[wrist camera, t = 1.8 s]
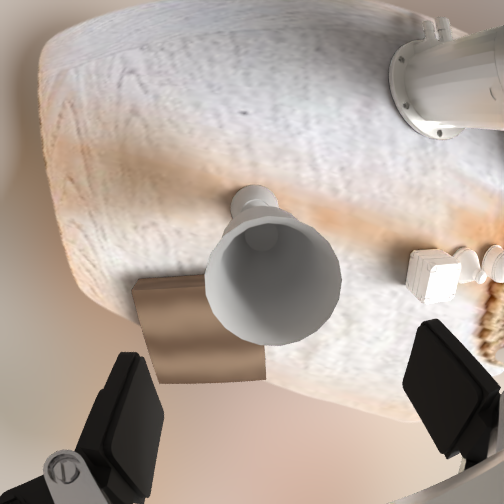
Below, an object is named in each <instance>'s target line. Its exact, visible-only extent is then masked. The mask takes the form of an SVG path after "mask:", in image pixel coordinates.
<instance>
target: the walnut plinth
mask: <svg viewBox="0 0 504 504" xmlns="http://www.w3.org/2000/svg"><path fill="white" fill-rule="evenodd" d="M131 291H132V295H133V299H134V303H135V307H136V310H137V314H138V318H139V321H140V325H141V328H142V332H143V335H144V338H145V342H146V345H147V348H148V351H149V354H150V357H151V360H152V364H153V367H154V369H155V372H156V375H157V378H158V381H159V383H160V384H196V383H224V382H240V381H241V382H242V381H255V380H266V367H265V349H264V345H258V344H255V343H252V342H249V341H246V340H243V339H241V338H239V337H238V336H236V335H235V334H233V333H232V332H230V331H229V330H227V329H226V328H225V327H224V326H223V325H222V323H221V322H220V321H219V320H218V319H217V317H216V316H215V315H214V314H213V312H212V309H211V307H210V304H209V302H208V299H207V297H206V290H205V274H204V275H190V276H175V277H160V278H144V279H138V281H137V282H136V284H135V286H134V287H133V289H132V290H131Z"/></svg>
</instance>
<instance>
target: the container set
mask: <svg viewBox="0 0 504 504" xmlns="http://www.w3.org/2000/svg"><path fill="white" fill-rule="evenodd" d="M410 256H411V257H410V260H409V266H408V272H407V278H406V288H407V289H408V290H409V291H410V292H411V293H412V294H413V295H414V296H415V297H416V298H417V299H418V300H419V301H421V303H424V304H428V303H429V304H431V303H437V302H443V301H448V300H449V301H450V300H451V299H452V298H453V297H454V294H455V291H456V287H457V283H466V282H470V281H476V282H477V283H478V284H481V283H483V282H484V281H485V280H486V276H487V277H490V278H491V279H493V280H494V281H496V282H499V283H502V282H504V250H503V249H502V248H501V247H500V246H499V245H493V246H491V247H490V248H489V249H488V250H487V251H486V253H485V255H484V257H483V260H482V270H481V268H480V264H479V259H478V256H477V254H476V252H474V251H473V250H471V249H469V248H467V247H462V248H460V249H459V250H457V251H456V252H455V254H454V255H453V257H452V256H451V255H449V254H448V253H446V252H445V251H443V250H440V249H428V250H414V251H413V252H412V253H411V254H410Z"/></svg>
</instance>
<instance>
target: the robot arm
mask: <svg viewBox="0 0 504 504" xmlns="http://www.w3.org/2000/svg"><path fill="white" fill-rule="evenodd" d="M435 23H436V28H437V32H438V34H439V40H438V39H436V38H435V33H434V32H435V31H434V26H433V22H431V21H423V22H422V25H423V30H424V33H425V38H424V40H414V41H411V42H409V43H406V44H405V45H403V46H401V47H400V48H399V49H398V50H397V51H396V52H395V54H394V56H393V58H392V60H391V64H390V67H389V84H390V90H391V94H392V97H393V100H394V102H395V104H396V107H397V109H398V110H399V112H400V114H401V115H402V117H403V118H404V119H405V121H406V122H407V123H408V124H409V125H410V126H411V127H412V128H413V129H414V130H415V131H417V132H418V133H420V134H421V135H423V136H425V137H428V138H431V139H436V140H448V139H452V138H454V137H456V136H458V135H459V134H460V133H461V132H462V131H463V130H464V129H465V128H476V129H491V130H502V131H504V25H503V26H499V27H496V28H491V29H488V30H484V31H481V32H477V33H474V34H471V35H467V36H464V37H461V38H458V39H455V40H453V39H452V34H451V33H452V30H451V25H450V21H449V19H448V18H445V17H437V18H435ZM403 105H404V107H403ZM402 385H403V389H404V391H405V393H406V394H407V396H408V398H409V399H410V401H411V403H412V404H413V406H414V408H415V410H416V411H417V413H418V415H419V416H420V418H421V420H422V422H423V423H424V425H425V427H426V429H427V430H428V432H429V434H430V436H431V438H432V439H433V441H434V443H435V445H436V447H437V448H438V450H439V452H440V453H441V454H444V455H445V457H446V459H449V458H451V457H453V456H455V455H457V454H459V453H461V455H462V461H461V465H460V469H459V473H458V474H457V475H455V476H453V477H451V478H449V479H447V480H445V481H442V482H440V483H438V484H436V485H434V486H431V487H429V488H427V489H424V490H422V491H420V492H417V493H414V494H412V495H409V496H407V497H404V498H401V499H398V500H396V501H393V502H390V503H387V504H504V391H503V393H502V394H500V393H499V390H500V388H501V387H500V386H499V385H498V383H497V382H496V381H495V380H494V379H493V378H492V376H491V375H490V374H489V373H488V372H487V371H486V370H485V368H484V367H483V366H482V365H481V364H480V363H479V362H478V361H477V360H476V358H475V357H474V356H473V355H472V354H471V353H470V352H469V351H468V350H467V349H466V348H465V346H464V345H463V344H462V343H461V342H460V341H459V340H458V339H457V338H456V337H455V336H454V335H453V334H452V333H451V332H450V331H449V330H448V329H447V328H446V327H445V325H444V324H443V323H442V322H441V321H440V320H438V319H432V320H428V321H424V322H422V323H421V325H420V327H418V329H417V332H416V336H415V340H414V344H413V348H412V351H411V355H410V358H409V362H408V365H407V368H406V372H405V375H404V378H403V382H402ZM163 421H164V411H163V408H162V405H161V403H160V400H159V397H158V395H157V392H156V390H155V387H154V384H153V381H152V379H151V376H150V373H149V370H148V367H147V364H146V361H145V359H144V357H140V356H139V354H138V353H137V352H121V353H120V354H119V355H118V357H117V360H116V362H115V364H114V366H113V368H112V371H111V373H110V375H109V377H108V380H107V382H106V384H105V386H104V389H102V390H100V391H99V393H98V395H97V397H96V400H95V402H94V404H93V407H92V409H91V411H90V414H89V416H88V419H87V421H86V423H85V426H84V429H83V431H82V433H81V436H80V438H79V441H78V444H77V446H76V449H75V451H71V450H60V451H56V452H55V453H53V454H51V455H50V456H49V458H47V460H46V462H45V463H44V468H43V472H44V475H42V476H39V477H37V478H35V479H33V480H31V481H28V482H26V483H24V484H22V485H19V486H17V487H14V488H12V489H10V490H7V491H6V492H4V493H3V494H2V495H1V496H0V504H133V503H136V504H144V501H145V498H149V496H150V494H151V488H152V482H153V476H154V469H155V464H156V458H157V452H158V447H159V442H160V436H161V431H162V426H163Z"/></svg>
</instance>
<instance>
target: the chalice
mask: <svg viewBox="0 0 504 504" xmlns="http://www.w3.org/2000/svg"><path fill="white" fill-rule="evenodd" d="M231 215H232V218H233V219H232V220H231V222H230V223H229V224H228V226H227V227H226V228H225V230H224V233H223V236H222V239H221V240H220V242H219V243H218V244H217V246H216V247H215V248H214V250H213V251H212V253H211V254H210V258H209V261H208V265H207V268H206V271H205V290H206V297H207V299H208V302H209V304H210V307H211V309H212V312H213V314H214V315H215V316H216V317H217V319H218V320H219V321H220V322H221V323H222V325H223V326H224V327H225V328H226V329H227V330H229V331H230V332H232V333H233V334H235V335H236V336H238V337H239V338H241V339H243V340H246V341H249V342H252V343H255V344H258V345H271V346H281V345H286V344H290V343H294V342H298V341H300V340H302V339H304V338H306V337H307V336H309V335H311V334H313V333H314V332H316V331H317V330H318V329H319V328H320V327H321V326H322V325H323V324H324V323H325V322H326V321H327V320H328V319H329V318H330V316H331V314H332V312H333V310H334V308H335V306H336V304H337V302H338V300H339V296H340V289H341V283H342V278H341V272H340V266H339V261H338V259H337V257H336V255H335V253H334V251H333V249H332V247H331V245H330V244H329V242H328V241H327V240H326V239H325V238H324V237H323V236H321V235H320V234H319V233H318V232H317V231H316V230H315V229H314V228H313V227H311V226H308V225H306V224H304V223H302V222H300V221H298V220H297V219H296V218H295V217H294V216H293V215H292V214H291V213H289V212H287V211H285V210H282V209H280V208H279V205H278V201H277V199H276V197H275V195H274V194H273V193H272V192H271V191H270V190H269V189H268V188H266V187H263V186H260V185H250V186H246V187H244V188H242V189H241V190H239V191H238V192H237V193H236V194H235V196H234V197H233V200H232V202H231Z"/></svg>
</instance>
